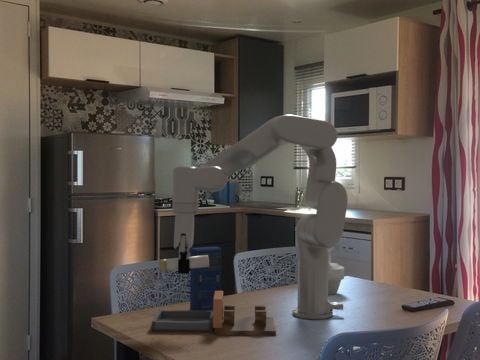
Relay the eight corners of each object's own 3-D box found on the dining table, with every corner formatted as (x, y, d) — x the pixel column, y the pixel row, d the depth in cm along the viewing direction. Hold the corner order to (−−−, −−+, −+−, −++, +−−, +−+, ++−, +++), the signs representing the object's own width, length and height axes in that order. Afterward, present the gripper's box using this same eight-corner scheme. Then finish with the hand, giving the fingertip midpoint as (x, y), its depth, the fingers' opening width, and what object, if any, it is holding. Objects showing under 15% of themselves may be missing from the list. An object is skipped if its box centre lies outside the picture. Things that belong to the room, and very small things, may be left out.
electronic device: (195, 313, 172) (196, 249, 171) (188, 309, 176) (189, 247, 176) (222, 309, 177) (222, 247, 176) (214, 306, 181) (215, 245, 181)
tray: (214, 319, 165) (214, 310, 165) (212, 332, 152) (212, 322, 152) (158, 318, 165) (158, 310, 165) (151, 331, 152) (151, 322, 152)
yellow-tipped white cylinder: (209, 266, 160) (208, 254, 160) (208, 267, 156) (207, 254, 156) (161, 271, 160) (160, 259, 160) (160, 272, 156) (158, 260, 156)
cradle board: (272, 321, 163) (272, 302, 163) (275, 335, 149) (276, 315, 149) (216, 320, 163) (216, 302, 163) (213, 334, 149) (214, 314, 149)
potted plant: (346, 296, 196) (347, 227, 196) (314, 296, 196) (315, 227, 196) (340, 289, 209) (341, 224, 208) (310, 288, 209) (311, 223, 208)
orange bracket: (222, 318, 162) (223, 290, 161) (221, 328, 151) (222, 299, 151) (214, 317, 162) (215, 290, 161) (213, 328, 151) (213, 299, 151)
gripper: (175, 206, 166) (174, 266, 166) (168, 210, 150) (167, 277, 150) (200, 207, 166) (199, 267, 166) (196, 211, 150) (195, 277, 150)
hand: (184, 271), depth 158 cm, fingers closed on yellow-tipped white cylinder, 3 cm apart
